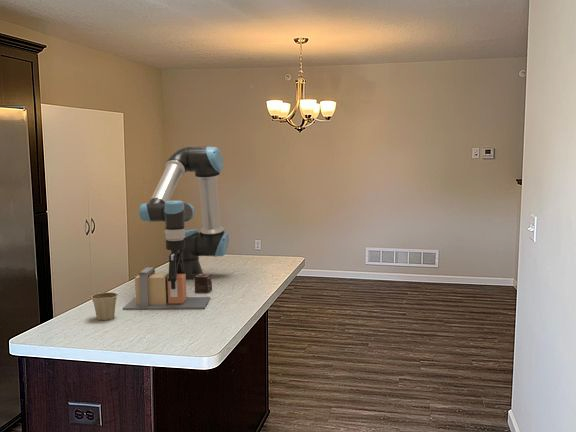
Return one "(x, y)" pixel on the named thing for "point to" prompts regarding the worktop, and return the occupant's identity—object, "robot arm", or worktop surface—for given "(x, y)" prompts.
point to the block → (180, 288)
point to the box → (203, 283)
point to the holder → (158, 294)
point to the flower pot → (104, 305)
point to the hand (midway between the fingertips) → (177, 293)
